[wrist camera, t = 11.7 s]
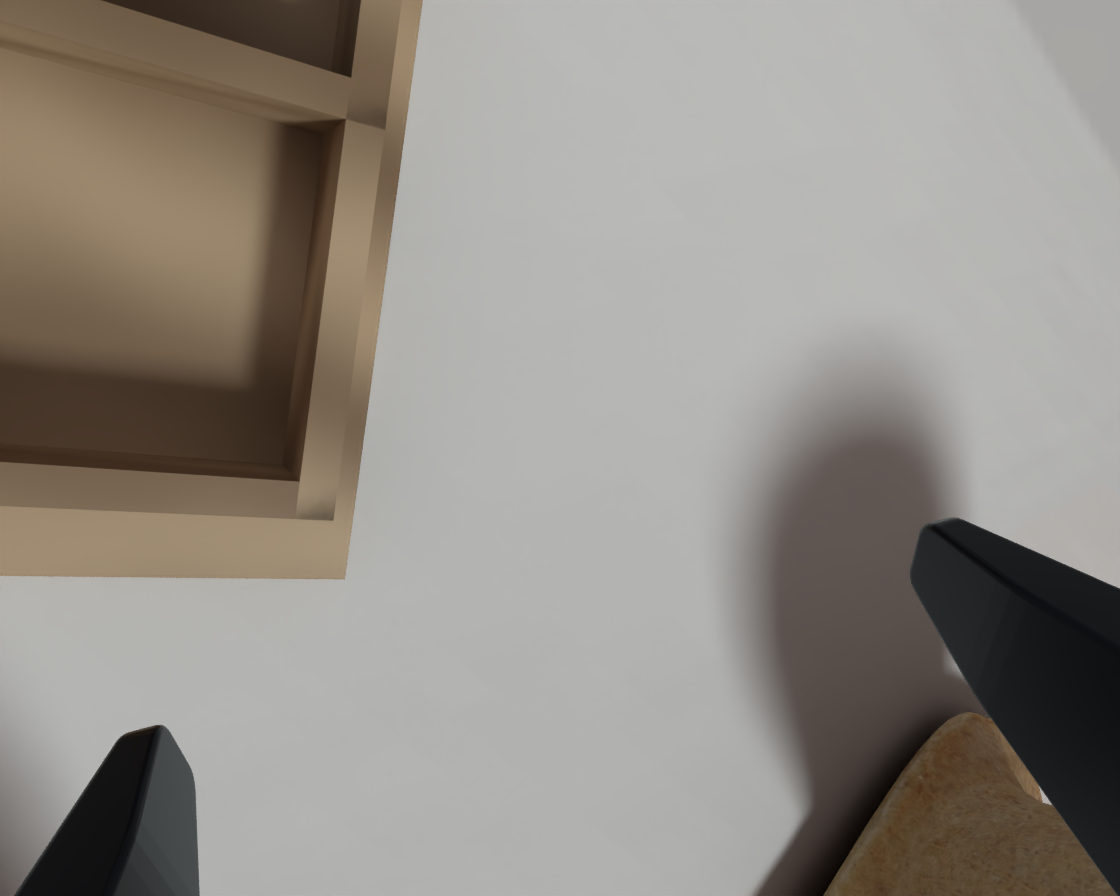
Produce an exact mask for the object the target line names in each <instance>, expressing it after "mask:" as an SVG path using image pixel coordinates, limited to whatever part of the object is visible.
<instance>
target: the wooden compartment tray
mask: <svg viewBox="0 0 1120 896" xmlns="http://www.w3.org/2000/svg"><path fill="white" fill-rule="evenodd" d="M422 1H423V0H0V576H73V577H172V578H270V579H345V574H346V566H347V559H348V552H349V544H350V537H351V529H352V522H353V514H354V507H355V499H356V492H357V485H358V477H359V470H360V462H361V455H362V447H363V440H364V432H365V425H366V418H367V410H368V403H369V395H370V388H371V380H372V373H373V366H374V358H375V351H376V343H377V336H378V328H379V321H380V313H381V306H382V299H383V291H384V284H385V276H386V269H387V261H388V254H389V246H390V239H391V232H392V224H393V217H394V209H395V202H396V194H397V187H398V180H399V172H400V165H401V157H402V150H403V142H404V135H405V127H406V120H407V113H408V105H409V98H410V90H411V83H412V75H413V68H414V60H415V53H416V46H417V38H418V31H419V23H420V16H421V8H422Z"/></svg>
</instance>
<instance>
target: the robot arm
mask: <svg viewBox="0 0 1120 896" xmlns="http://www.w3.org/2000/svg"><path fill="white" fill-rule="evenodd" d="M910 578H911V583H912V586H913V588H914V590H915V592H916V594H917V596H918V598H919V599H920V601H921V603H922V605H923V606H924V608H925V610H926V612H927V613H928V615H929V617H930V619H931V620H932V622H933V624H934V626H935V628H936V629H937V631H938V633H939V635H940V636H941V638H942V640H943V642H944V643H945V645H946V647H947V649H948V650H949V652H950V654H951V656H952V657H953V659H954V661H955V663H956V664H957V666H958V668H959V670H960V671H961V673H962V675H963V677H964V678H965V680H966V682H967V683H968V685H969V686H970V688H971V690H972V691H973V693H974V695H975V696H976V697H977V699H978V700H979V702H980V703H981V705H982V706H983V708H984V709H985V711H986V712H987V714H988V715H989V716H990V718H991V719H992V721H993V722H994V723H995V725H996V726H997V728H998V729H999V730H1000V732H1001V733H1002V735H1003V736H1004V737H1005V739H1006V740H1007V742H1008V743H1009V744H1010V746H1011V747H1012V749H1013V750H1014V751H1015V753H1016V754H1017V756H1018V757H1019V758H1020V760H1021V761H1022V763H1023V764H1024V766H1025V767H1026V768H1027V770H1028V771H1029V773H1030V774H1031V775H1032V777H1033V778H1034V780H1035V781H1036V782H1037V784H1038V785H1039V787H1040V788H1041V789H1042V791H1043V792H1044V794H1045V795H1046V796H1047V798H1048V799H1049V801H1050V802H1051V803H1052V805H1053V806H1054V808H1055V809H1056V810H1057V812H1058V813H1059V815H1060V816H1061V817H1062V819H1063V820H1064V822H1065V823H1066V824H1067V826H1068V827H1069V829H1070V830H1071V832H1072V833H1073V834H1074V836H1075V837H1076V839H1077V840H1078V841H1079V843H1080V844H1081V846H1082V847H1083V848H1084V850H1085V851H1086V853H1087V854H1088V855H1089V857H1090V858H1091V860H1092V861H1093V862H1094V864H1095V865H1096V867H1097V868H1098V869H1099V871H1100V872H1101V874H1102V875H1103V876H1104V878H1105V879H1106V881H1107V882H1108V883H1109V885H1110V886H1111V888H1112V889H1113V890H1114V892H1115V893H1116V895H1117V896H1120V589H1119V588H1117V587H1115V586H1113V585H1110V584H1108V583H1106V582H1104V581H1101V580H1099V579H1097V578H1094V577H1092V576H1090V575H1088V574H1085V573H1083V572H1081V571H1078V570H1076V569H1074V568H1072V567H1069V566H1067V565H1065V564H1063V563H1060V562H1058V561H1056V560H1053V559H1051V558H1049V557H1047V556H1044V555H1042V554H1040V553H1037V552H1035V551H1033V550H1031V549H1028V548H1026V547H1024V546H1022V545H1019V544H1017V543H1015V542H1012V541H1010V540H1008V539H1006V538H1003V537H1001V536H999V535H996V534H994V533H992V532H990V531H987V530H985V529H983V528H981V527H978V526H976V525H974V524H971V523H969V522H967V521H965V520H962V519H959V518H947V519H943V520H939V521H935V522H931V523H928V524H926V525H924V526H923V528H922V529H921V530H920V533H919V537H918V541H917V545H916V549H915V552H914V556H913V560H912V564H911V569H910ZM14 896H200V895H199V869H198V844H197V819H196V793H195V782H194V777H193V773H192V770H191V768H190V766H189V764H188V762H187V760H186V759H185V757H184V755H183V754H182V752H181V750H180V748H179V747H178V745H177V743H176V741H175V740H174V738H173V736H172V735H171V733H170V731H169V730H168V729H167V728H166V727H165V726H163V725H155V726H151V727H147V728H143V729H139V730H136V731H132V732H128V733H126V734H124V735H123V736H121V737H120V738H119V739H118V740H117V742H116V743H115V744H114V746H113V747H112V749H111V750H110V752H109V753H108V755H107V756H106V758H105V759H104V761H103V762H102V764H101V765H100V767H99V768H98V770H97V771H96V773H95V775H94V776H93V778H92V779H91V781H90V782H89V784H88V785H87V787H86V788H85V790H84V791H83V793H82V794H81V796H80V797H79V799H78V800H77V802H76V803H75V805H74V806H73V808H72V809H71V811H70V812H69V814H68V815H67V817H66V818H65V820H64V821H63V823H62V824H61V826H60V827H59V829H58V830H57V832H56V833H55V835H54V836H53V838H52V839H51V841H50V842H49V844H48V845H47V847H46V849H45V850H44V852H43V853H42V855H41V856H40V858H39V859H38V861H37V862H36V864H35V865H34V867H33V868H32V870H31V871H30V873H29V874H28V876H27V877H26V879H25V880H24V882H23V883H22V885H21V886H20V888H19V889H18V891H17V892H16V894H15V895H14Z"/></svg>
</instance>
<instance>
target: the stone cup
mask: <svg viewBox="0 0 1120 896" xmlns="http://www.w3.org/2000/svg"><path fill="white" fill-rule="evenodd" d="M823 896H1117V895H1116V893H1115V892H1114V890H1113V889H1112V888H1111V886H1110V885H1109V883H1108V882H1107V881H1106V879H1105V878H1104V876H1103V875H1102V874H1101V872H1100V871H1099V869H1098V868H1097V867H1096V865H1095V864H1094V862H1093V861H1092V860H1091V858H1090V857H1089V855H1088V854H1087V853H1086V851H1085V850H1084V848H1083V847H1082V846H1081V844H1080V843H1079V841H1078V840H1077V839H1076V837H1075V836H1074V834H1073V833H1072V832H1071V830H1070V829H1069V827H1068V826H1067V824H1066V823H1065V822H1064V820H1063V819H1062V817H1061V816H1060V815H1059V813H1058V812H1057V810H1056V809H1055V808H1054V806H1053V805H1049V804H1045V803H1043V801H1042V797H1041V793H1040V789H1039V786H1038V784H1037V782H1036V781H1035V780H1034V778H1033V777H1032V775H1031V774H1030V773H1029V771H1028V770H1027V768H1026V767H1025V766H1024V764H1023V763H1022V761H1021V760H1020V758H1019V757H1018V756H1017V754H1016V753H1015V751H1014V750H1013V749H1012V747H1011V746H1010V744H1009V743H1008V742H1007V740H1006V739H1005V737H1004V736H1003V735H1002V733H1001V732H1000V730H999V729H998V728H997V726H996V725H995V723H994V722H993V721H992V719H991V718H986V717H984V716H982V715H980V714H977V713H972V712H966V713H961V714H958V715H956V716H954V717H953V718H951V719H949V720H947V721H946V722H945V723H944V724H943V725H942V726H940V727H939V728H938V729H937V730H936V731H935V732H934V733H933V734H932V736H931V737H930V738H929V739H928V740H927V741H926V742H925V743H924V744H923V746H922V747H921V748H920V749H919V750H918V751H917V753H916V754H915V755H914V757H913V758H912V759H911V761H910V762H909V763H908V765H907V766H906V767H905V769H904V770H903V771H902V773H901V774H900V776H899V777H898V778H897V780H896V781H895V783H894V784H893V786H892V787H891V789H890V790H889V792H888V793H887V795H886V796H885V798H884V799H883V801H882V802H881V804H880V805H879V807H878V808H877V810H876V811H875V813H874V814H873V816H872V818H871V819H870V821H869V822H868V824H867V825H866V827H865V828H864V830H863V831H862V833H861V835H860V836H859V838H858V840H857V841H856V843H855V845H854V846H853V848H852V850H851V851H850V853H849V854H848V856H847V858H846V859H845V861H844V863H843V864H842V866H841V867H840V869H839V871H838V872H837V874H836V876H835V877H834V879H833V880H832V882H831V884H830V885H829V887H828V889H827V890H826V892H825V893H824V895H823Z"/></svg>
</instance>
